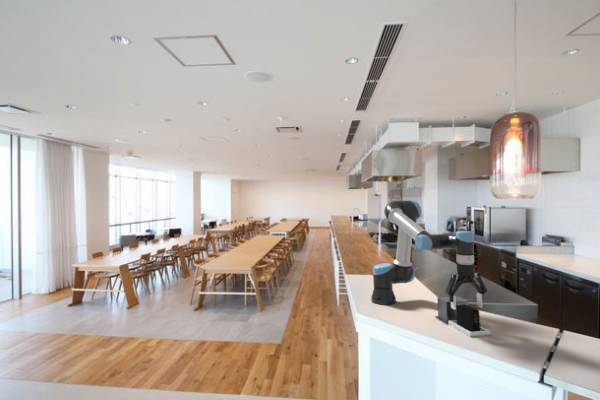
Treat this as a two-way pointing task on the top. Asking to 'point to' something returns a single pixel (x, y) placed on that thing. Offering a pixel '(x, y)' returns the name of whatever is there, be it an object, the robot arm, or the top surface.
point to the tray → (470, 334)
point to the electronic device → (468, 318)
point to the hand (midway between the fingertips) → (466, 307)
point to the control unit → (448, 308)
